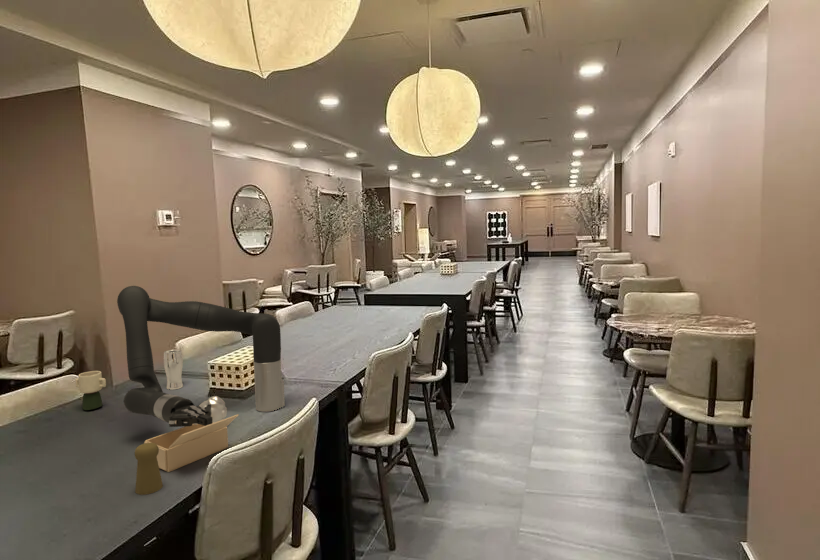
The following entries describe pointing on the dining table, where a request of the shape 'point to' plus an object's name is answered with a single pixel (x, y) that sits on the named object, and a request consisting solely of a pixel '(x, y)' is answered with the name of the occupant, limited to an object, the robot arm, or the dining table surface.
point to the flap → (202, 431)
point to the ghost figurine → (216, 408)
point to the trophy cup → (91, 389)
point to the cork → (147, 469)
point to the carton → (187, 447)
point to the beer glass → (173, 368)
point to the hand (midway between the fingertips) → (209, 421)
